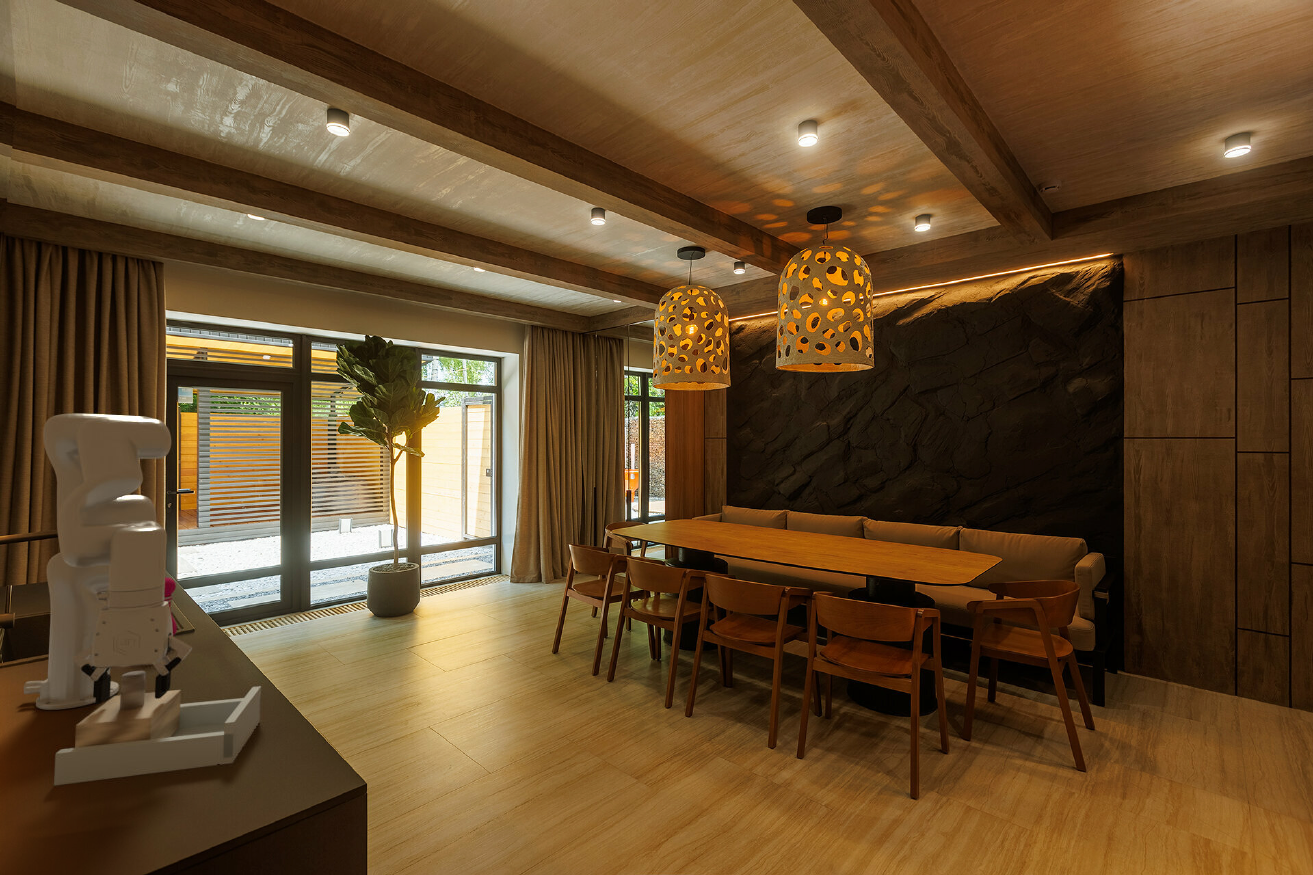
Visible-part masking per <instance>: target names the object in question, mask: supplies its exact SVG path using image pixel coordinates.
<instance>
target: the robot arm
mask: <svg viewBox="0 0 1313 875" xmlns="http://www.w3.org/2000/svg"><path fill="white" fill-rule="evenodd" d="M42 430H43V431H42V437H43V445H44V449H45V452H46V455H47V457H48V460H49V461H50V464H51V466H52V468H53V470H54V472H55V476H56V482H57V483H56V529H57V530H56V531H57V537H58V544H59V551H60V552H58V553H57V554H55V555H53V556H51V558H50V559H49V561H48V562H47V564H46V579H47V584H48V592H49V600H50V623H49V624H50V626H49V647H48V666H47V667H48V668H47V678H46V679H45V680H28V681H26V682H25V683H24V685H23V694H24V695H33V694H37V693H38V694H39V695H40V696H39V697H37V699H36V700H35V706H36V708H37V709H40V710H46V711H47V710H48V711H51V710H52V711H54V710H55V711H56V710H58V711H59V710H67V709H74V708H79V707H84V706H88V705H91V704H95V705H101V704H103V702H105V701H107V699H108V700H109V699H110V698H112V697H114V696H115V694H117V693H118V692H119V689H120V685H119V683H118V682H115V681H113V680H112V676H111V668H113V669H114V668H127V667H136V666H137V667H138V666H149V665H153V666H154V668H155V669H156V671H157V672H158V675H156V676H155V683H154V684H155V685H154V692H155V698H156V699H159V698H161V697H162V696H163V695H164V694H166V693H167V691H170V689H171V681H172V680H171V679H172V670H174V669H175V668H176V667H177V666H178V665H179V664H180V663H182V662H183V660H184V659H186V657H187V656H188V655H189V654H190V652H191V651H192V650H193V647H192V646H191V645H189V644H188V643H186V642H184V641H183V640H181V639H179V638H177V637H176V636H174V635H173V628H172V618H171V614H172V611H171V612H170V608H171V606H170V607H169V604H168V602H167V601H164V591H165V577H166V576H165V573H166V570H167V569H166V567H167V566H166V565H167V544H168V536H167V535H168V534H167V530H165V528H163V527H162V525H161V524H160V523H158V522H157V512H156V508H155V504H154V503H153V501H152V499H150V498H149V497H148V496H145V495H142V494H140V495H139V494H132V493H134V492H135V491H137V490H138V489H139V488H140V486H141V485H142V483H143V480H144V475H143V472H142V467H141V463H140V460H143V459H144V460H146V459H147V460H148V459H149V460H158V459H164V458H165V457H166V456H167V455H169V452H170V450H171V448H172V447H171V446H172V436H171V432H170V430H169V428H168V426H167V424H165V423H164V421H162V420H161V419H156V418H152V417H148V416H140V415H138V416H137V415H136V416H135V415H117V414H101V413H100V414H99V413H63V414H57V415H54V416H51V417H49V418H48V419H47V420H46V421H45V424H44V425H43V429H42ZM173 650H175V651H177V654H176V656H175V657H174V658H173V659H170V657H169V655H170V654H172V651H173Z"/></svg>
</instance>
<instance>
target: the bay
mask: <svg viewBox="0 0 1313 875" xmlns="http://www.w3.org/2000/svg"><path fill="white" fill-rule="evenodd" d="M261 694H262V686H260V685H259V686H252V687H251V688H250V690H249V691H248V692H247V693H246V695H245V696H244V697H241V698H230V699H221V700H219V699H218V700H210V701H199V702H189V703H188V702H187V703H180V723H179V728H178V729H177V731H176V732H175V733H174V734H173V735H172V736H171V737H169V738H160V739H151V740H142V741H133V742H124V743H115V744H105V745H96V746H87V747H78V748H75V747H70V748H63V749H60V750H58V751H57V752H56V753H55V758H54V760H55V761H54V778H53V779H54V780H53V782H54V783H53V786H60V785H69V784H78V783H84V782H85V783H86V782H92V781H99V780H101V781H102V780H108V779H109V780H110V779H115V778H123V777H132V776H139V775H140V776H141V775H146V774H147V775H148V774H157V773H164V772H172V771H180V770H187V769H195V768H202V767H204V768H205V767H213V766H218V765H217V764H220V765H226V764H233V763H234V762H235V760H236V758H237V756H239V754H238V753H241V751H242V749H243V748H244V746H245V745H246V744H247V743H248V742H247V741H248V740H249V739H250V737H251V736H252V735H253V733H254V732H255V730H256V728H257V727H258V725H259V724H258V723H260V722H261V721H260V719H261V697H262V695H261ZM256 726H257V727H256ZM254 729H255V730H254ZM242 747H243V748H242Z"/></svg>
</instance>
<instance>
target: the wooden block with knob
mask: <svg viewBox="0 0 1313 875" xmlns="http://www.w3.org/2000/svg"><path fill="white" fill-rule="evenodd" d="M146 673H147V672H146V671H144V670H135V671H129V672H126V673H124V674H122V675H121V678H120V679H121V680H120V694H119V695H113V696H111V697H110V698H109V699H108V700H106V702H105V703H102V705H100V706H99V707H98V708H97V709H95V710H93V712H91V713H90V714H89V715H88V716H86V717H85V718H84V719H82V720H81V721H80V722H79V723H77V724H76V725H75V740H74V741H75V742H74V743H75V745H74V748H78V747H87V746H96V745H105V744H115V743H124V742H133V741H142V740H151V739H160V738H169V737H171V736H172V735H173V734H174V733H175V732H176V731H177V729H178V728H179V723H180V704H181V696H182V694H181V693H182V690H181V689H177V690H176V689H175V690H168V691H167V693H166V694H164V695H163V696H162V697H161V698H159V699H156V698H155V691H152V692H146Z"/></svg>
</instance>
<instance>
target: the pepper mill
mask: <svg viewBox="0 0 1313 875" xmlns="http://www.w3.org/2000/svg"><path fill="white" fill-rule="evenodd" d="M166 576H167V573H166V572H165V591H164V601H167V602H168V604H169V607H170V612H171V618H172V628H173V636H175V635H176V633H177V631H178V627H177V623H176V620H175V618H174V616H173V613H172V611H171V605H172V604H171V603H172V602H173V600H174V599H173V598H174V595H173V593H174V591H176V588H177V585H176V581H175V580H174V579H172V578H171V577H166Z"/></svg>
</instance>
